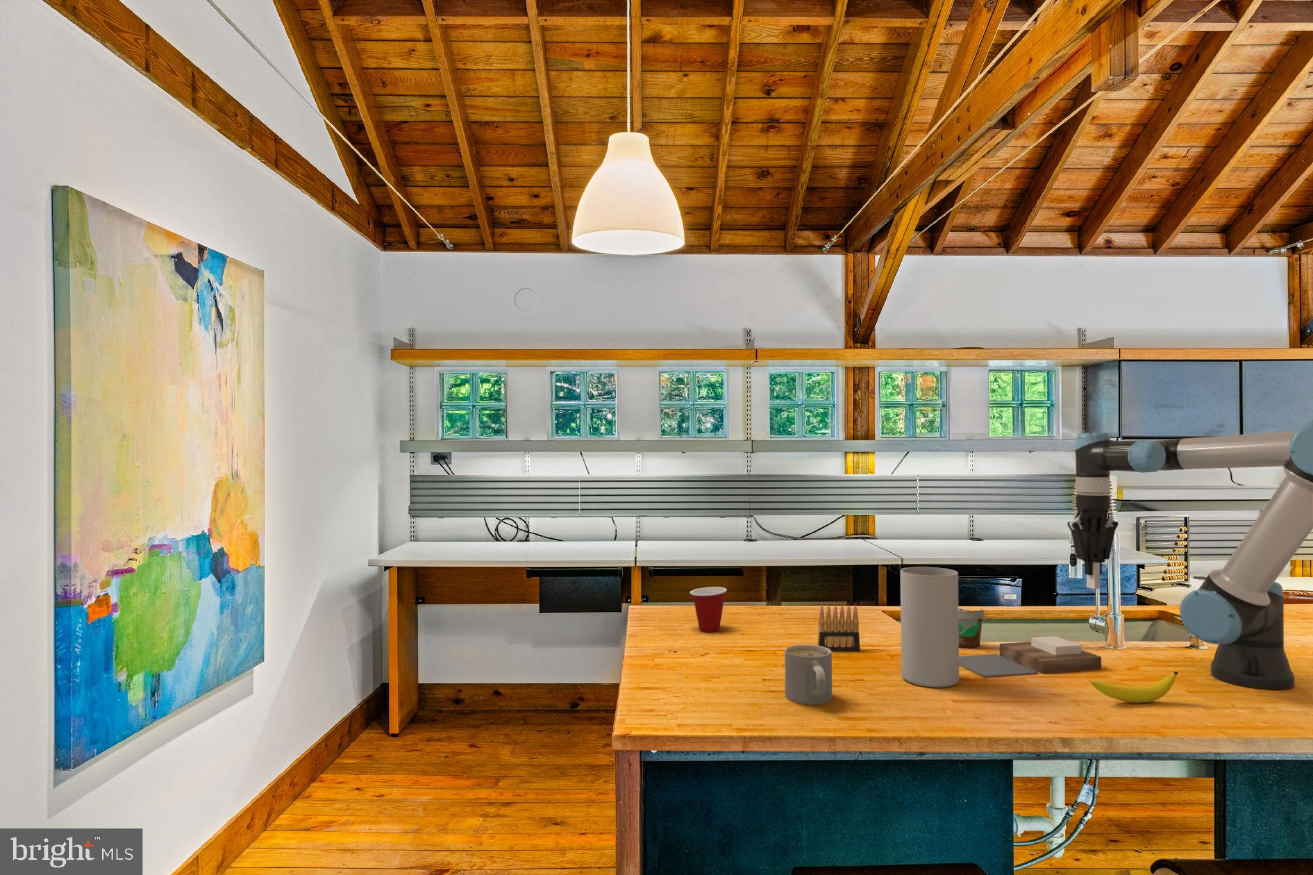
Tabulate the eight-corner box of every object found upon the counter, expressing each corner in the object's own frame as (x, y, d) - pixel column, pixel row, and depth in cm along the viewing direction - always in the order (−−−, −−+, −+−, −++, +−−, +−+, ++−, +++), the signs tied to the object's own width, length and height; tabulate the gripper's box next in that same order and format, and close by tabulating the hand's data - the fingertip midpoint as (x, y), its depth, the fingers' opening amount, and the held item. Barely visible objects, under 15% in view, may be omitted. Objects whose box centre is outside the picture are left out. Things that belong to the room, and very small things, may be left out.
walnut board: (1101, 669, 185) (1101, 656, 185) (1041, 673, 182) (1041, 660, 182) (1055, 651, 200) (1055, 640, 200) (999, 655, 197) (999, 643, 197)
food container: (933, 646, 206) (933, 609, 207) (937, 641, 212) (936, 604, 212) (983, 651, 201) (983, 613, 201) (985, 646, 206) (985, 608, 206)
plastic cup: (689, 625, 232) (689, 585, 232) (725, 625, 232) (725, 585, 232) (690, 634, 221) (690, 592, 222) (728, 634, 221) (728, 592, 221)
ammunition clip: (858, 649, 204) (858, 604, 204) (860, 651, 202) (859, 605, 202) (817, 649, 204) (817, 604, 205) (819, 651, 203) (818, 605, 203)
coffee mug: (782, 689, 172) (782, 644, 172) (828, 689, 171) (827, 644, 171) (790, 710, 159) (789, 661, 159) (838, 710, 158) (838, 661, 158)
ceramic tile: (1081, 653, 188) (1081, 645, 188) (1055, 655, 186) (1055, 646, 186) (1055, 644, 196) (1055, 636, 196) (1031, 645, 195) (1031, 637, 195)
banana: (1085, 702, 162) (1085, 671, 162) (1172, 699, 163) (1172, 669, 163) (1094, 706, 159) (1093, 675, 159) (1182, 704, 160) (1182, 673, 160)
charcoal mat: (1037, 673, 181) (1037, 672, 181) (983, 677, 179) (983, 675, 179) (996, 655, 197) (996, 653, 197) (945, 658, 195) (945, 657, 195)
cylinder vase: (922, 690, 170) (921, 577, 170) (890, 674, 182) (889, 568, 182) (971, 685, 173) (969, 574, 173) (936, 670, 185) (935, 565, 185)
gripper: (1104, 492, 199) (1104, 584, 198) (1059, 493, 196) (1059, 586, 196) (1127, 494, 191) (1127, 589, 191) (1080, 495, 189) (1081, 591, 189)
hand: (1093, 587), depth 194 cm, fingers closed
